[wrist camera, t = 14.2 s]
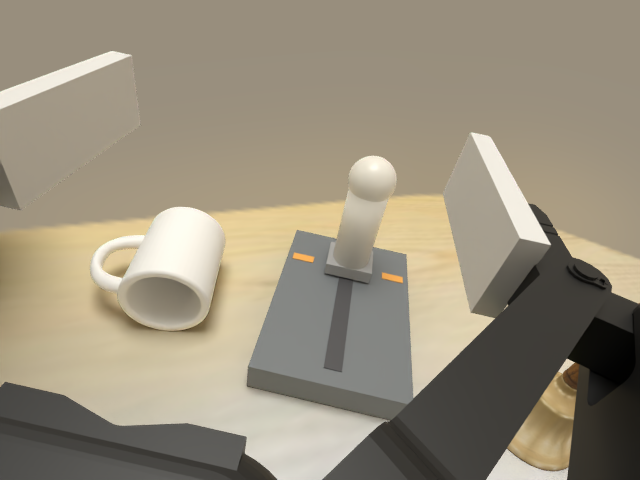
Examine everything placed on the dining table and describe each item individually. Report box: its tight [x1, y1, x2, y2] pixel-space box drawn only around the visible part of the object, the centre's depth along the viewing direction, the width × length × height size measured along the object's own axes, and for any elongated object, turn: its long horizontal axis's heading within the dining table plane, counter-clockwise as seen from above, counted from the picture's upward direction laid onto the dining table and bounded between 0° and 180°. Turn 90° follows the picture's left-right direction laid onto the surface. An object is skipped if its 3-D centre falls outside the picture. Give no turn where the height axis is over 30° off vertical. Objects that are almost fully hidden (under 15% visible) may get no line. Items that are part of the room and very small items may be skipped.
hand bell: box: [507, 303, 640, 471], centre depth 30 cm, size 8×8×16 cm
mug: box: [90, 207, 225, 331], centre depth 37 cm, size 12×10×8 cm
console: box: [247, 230, 413, 420], centre depth 40 cm, size 14×20×3 cm
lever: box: [324, 156, 397, 283], centre depth 38 cm, size 5×5×14 cm
